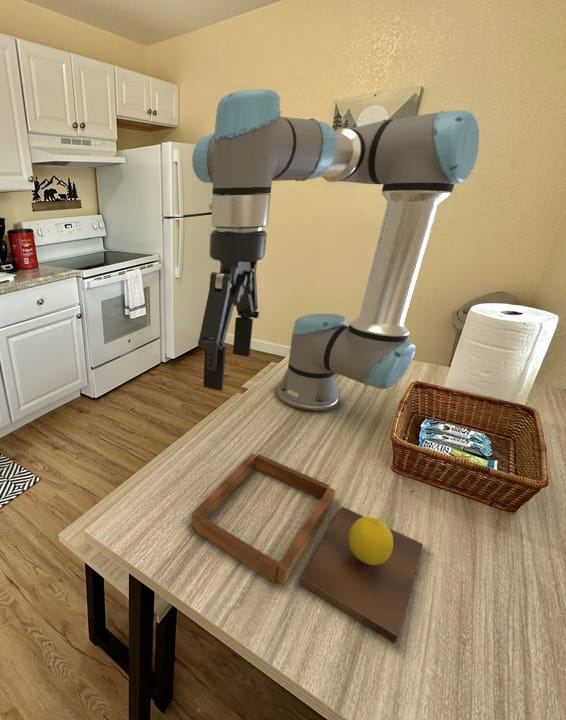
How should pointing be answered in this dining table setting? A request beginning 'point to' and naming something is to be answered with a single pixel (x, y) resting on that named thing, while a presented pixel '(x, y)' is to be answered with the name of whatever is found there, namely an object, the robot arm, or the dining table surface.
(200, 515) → the wooden frame
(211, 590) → the dining table surface
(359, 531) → the lemon
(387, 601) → the cutting board
